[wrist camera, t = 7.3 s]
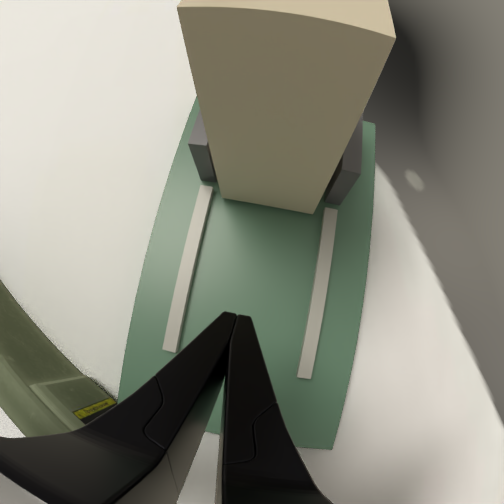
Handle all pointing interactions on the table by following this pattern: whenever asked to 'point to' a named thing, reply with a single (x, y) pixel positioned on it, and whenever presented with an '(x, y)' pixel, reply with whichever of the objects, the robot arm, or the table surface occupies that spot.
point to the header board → (260, 281)
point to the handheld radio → (41, 379)
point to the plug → (283, 89)
